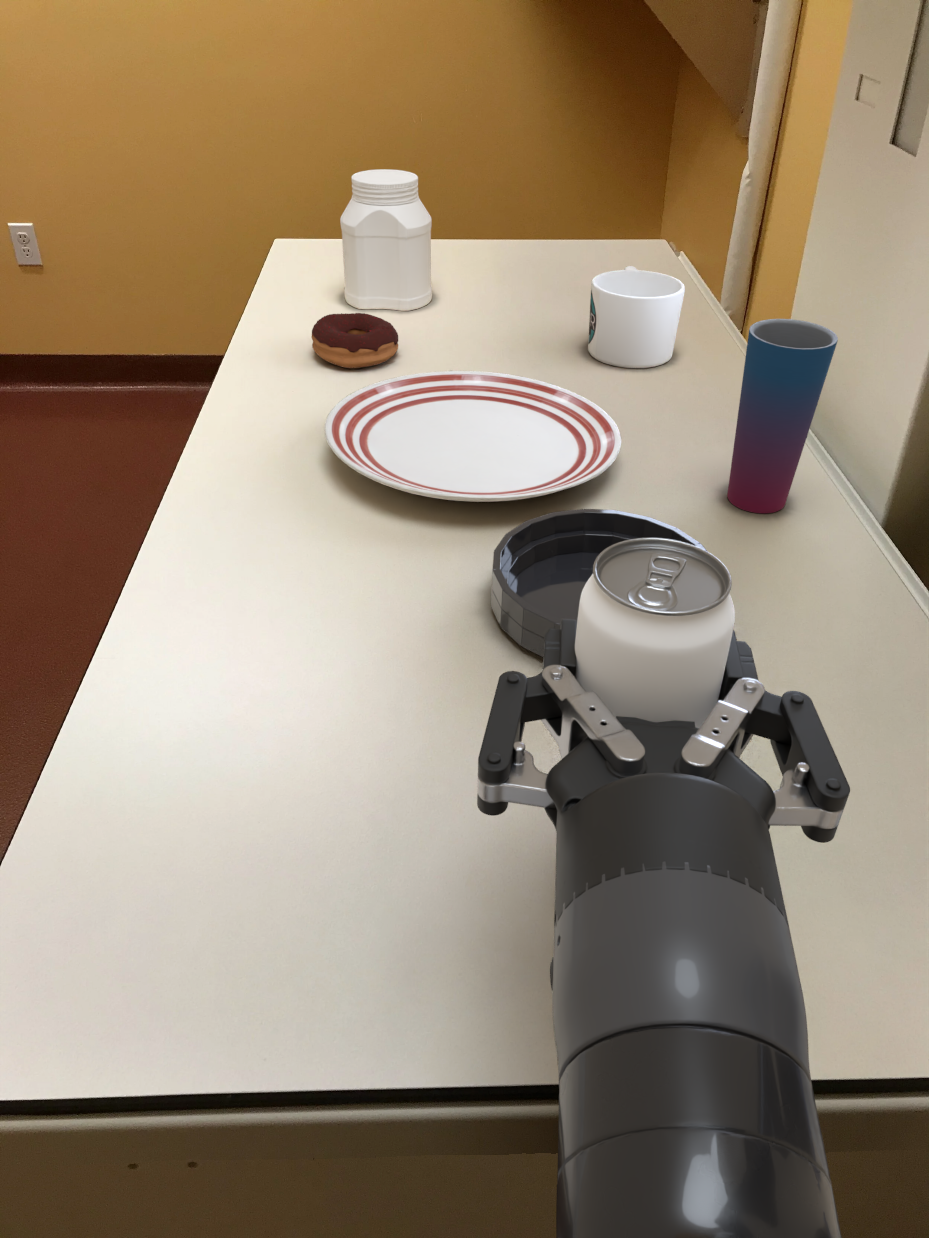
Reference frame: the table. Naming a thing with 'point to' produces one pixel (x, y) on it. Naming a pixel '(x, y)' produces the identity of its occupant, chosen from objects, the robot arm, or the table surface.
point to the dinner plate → (472, 435)
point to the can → (655, 630)
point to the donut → (354, 339)
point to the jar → (386, 242)
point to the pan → (558, 566)
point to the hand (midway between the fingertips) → (643, 639)
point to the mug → (634, 317)
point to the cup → (776, 409)
